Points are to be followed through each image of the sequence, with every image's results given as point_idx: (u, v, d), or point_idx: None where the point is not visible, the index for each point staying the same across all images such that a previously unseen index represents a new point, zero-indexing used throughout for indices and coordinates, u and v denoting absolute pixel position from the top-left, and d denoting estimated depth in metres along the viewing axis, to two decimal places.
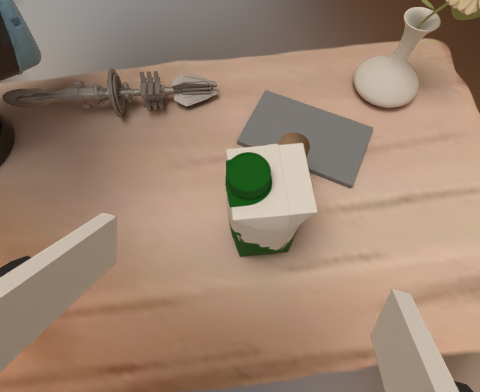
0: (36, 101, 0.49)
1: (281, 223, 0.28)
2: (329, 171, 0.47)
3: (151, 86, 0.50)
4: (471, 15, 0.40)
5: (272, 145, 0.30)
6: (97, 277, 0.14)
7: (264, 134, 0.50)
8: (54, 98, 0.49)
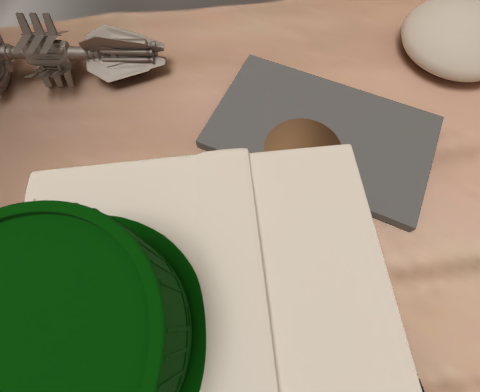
0: None
1: None
2: (368, 199, 0.25)
3: (38, 40, 0.27)
4: None
5: (222, 155, 0.07)
6: None
7: (245, 129, 0.28)
8: None
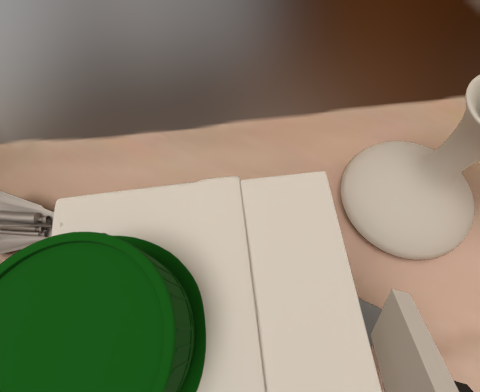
0: None
1: None
2: None
3: None
4: None
5: (217, 182, 0.08)
6: None
7: None
8: None
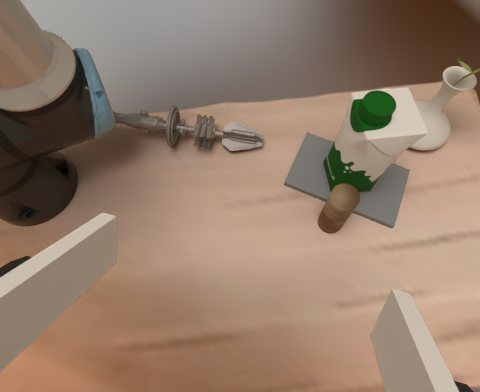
0: None
1: (399, 144, 0.38)
2: (371, 212, 0.52)
3: (204, 128, 0.55)
4: None
5: (386, 89, 0.39)
6: (97, 277, 0.14)
7: (309, 176, 0.55)
8: (120, 120, 0.55)
